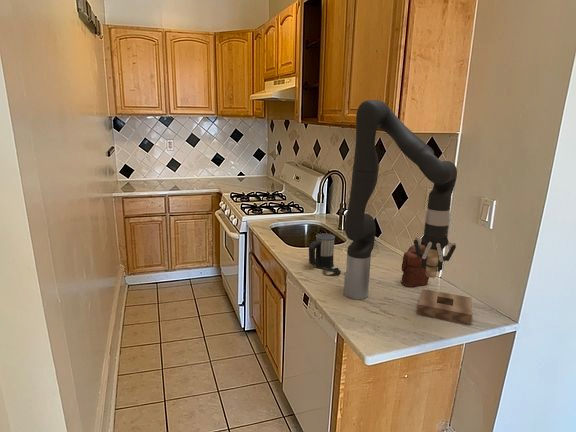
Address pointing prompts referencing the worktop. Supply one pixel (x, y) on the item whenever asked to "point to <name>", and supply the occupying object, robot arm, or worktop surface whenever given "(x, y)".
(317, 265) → the milk frother
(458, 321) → the wooden board with hole
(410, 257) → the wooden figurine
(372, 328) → the worktop surface
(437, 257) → the beech peg
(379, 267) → the worktop surface
